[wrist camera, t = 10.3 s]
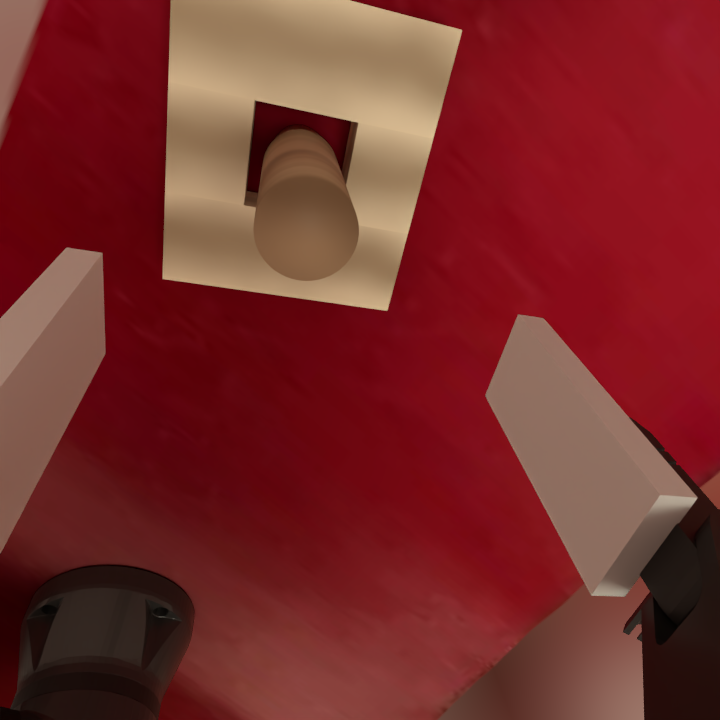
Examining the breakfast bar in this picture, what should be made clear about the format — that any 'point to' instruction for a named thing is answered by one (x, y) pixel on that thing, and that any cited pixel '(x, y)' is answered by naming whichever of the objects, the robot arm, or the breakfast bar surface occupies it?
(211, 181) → the board
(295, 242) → the peg
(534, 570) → the breakfast bar surface
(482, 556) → the breakfast bar surface
